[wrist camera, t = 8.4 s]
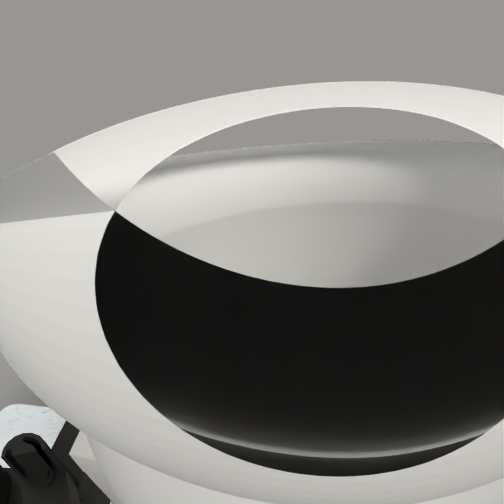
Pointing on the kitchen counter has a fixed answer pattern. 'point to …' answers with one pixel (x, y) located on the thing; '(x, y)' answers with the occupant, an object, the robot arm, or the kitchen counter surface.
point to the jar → (269, 303)
